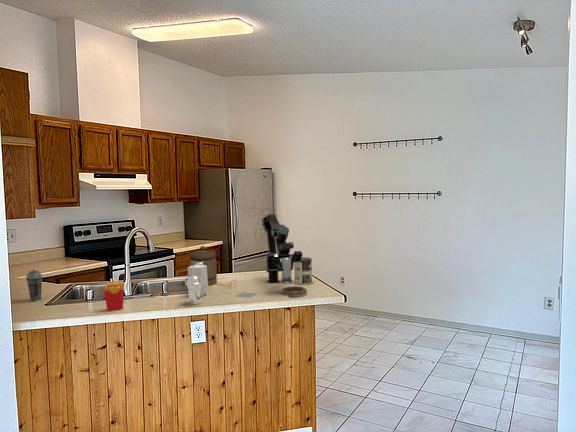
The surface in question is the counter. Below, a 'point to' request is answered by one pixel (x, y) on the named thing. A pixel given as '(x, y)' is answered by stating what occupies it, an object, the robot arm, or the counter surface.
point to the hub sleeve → (286, 270)
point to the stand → (246, 294)
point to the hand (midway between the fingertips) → (287, 270)
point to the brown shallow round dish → (295, 291)
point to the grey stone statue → (194, 287)
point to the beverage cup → (34, 284)
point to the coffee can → (303, 271)
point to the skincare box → (202, 273)
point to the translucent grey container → (206, 263)
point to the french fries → (114, 295)
